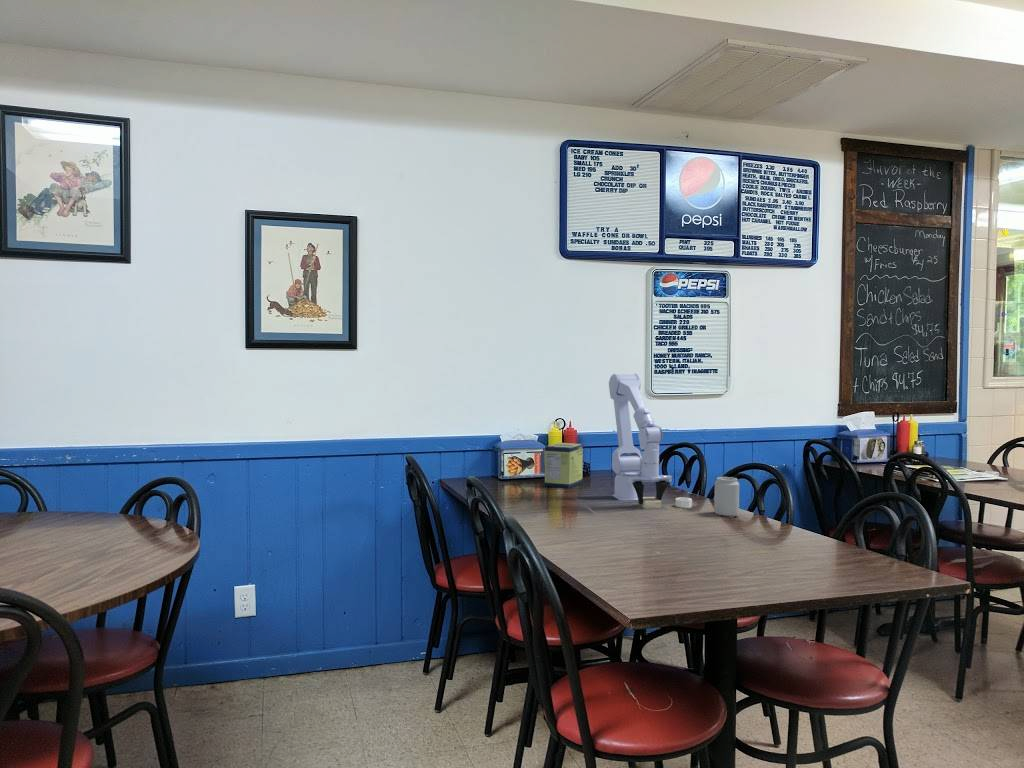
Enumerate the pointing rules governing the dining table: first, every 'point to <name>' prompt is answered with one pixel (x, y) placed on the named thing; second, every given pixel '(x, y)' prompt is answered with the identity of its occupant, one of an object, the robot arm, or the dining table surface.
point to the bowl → (683, 502)
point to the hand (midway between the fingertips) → (649, 503)
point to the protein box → (563, 465)
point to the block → (651, 503)
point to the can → (726, 496)
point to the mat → (644, 508)
